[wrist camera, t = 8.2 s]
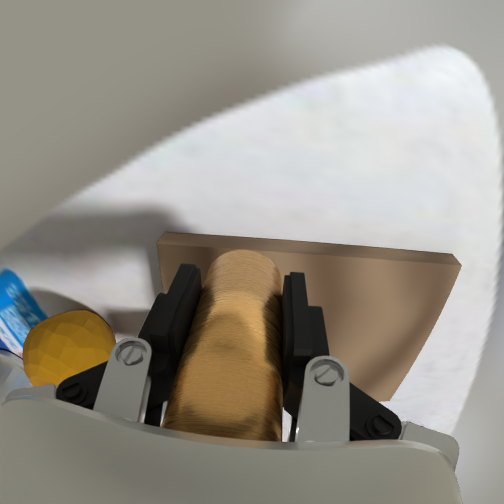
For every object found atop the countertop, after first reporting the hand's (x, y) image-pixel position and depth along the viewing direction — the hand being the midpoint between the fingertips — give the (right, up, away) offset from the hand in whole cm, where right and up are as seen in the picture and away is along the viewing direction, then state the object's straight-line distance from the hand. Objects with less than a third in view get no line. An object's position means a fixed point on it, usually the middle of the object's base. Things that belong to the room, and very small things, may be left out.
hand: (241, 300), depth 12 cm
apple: (-14, -5, +13) cm, 19 cm away
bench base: (+5, -4, +11) cm, 12 cm away
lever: (0, -5, +6) cm, 8 cm away
